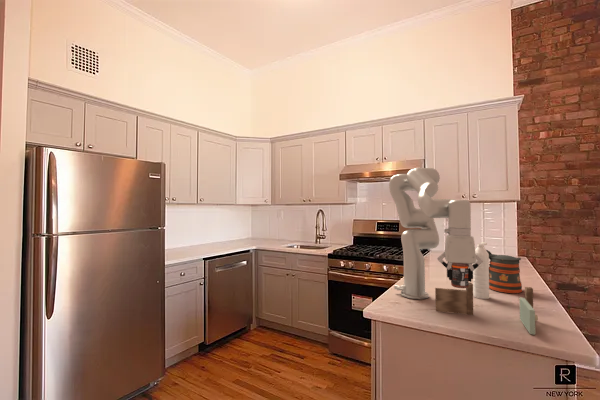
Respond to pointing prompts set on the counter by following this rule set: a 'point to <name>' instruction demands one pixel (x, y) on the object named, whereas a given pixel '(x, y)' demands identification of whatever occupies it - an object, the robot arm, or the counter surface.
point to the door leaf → (527, 315)
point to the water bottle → (481, 274)
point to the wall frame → (464, 299)
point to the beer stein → (504, 273)
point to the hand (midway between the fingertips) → (459, 279)
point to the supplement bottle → (460, 275)
